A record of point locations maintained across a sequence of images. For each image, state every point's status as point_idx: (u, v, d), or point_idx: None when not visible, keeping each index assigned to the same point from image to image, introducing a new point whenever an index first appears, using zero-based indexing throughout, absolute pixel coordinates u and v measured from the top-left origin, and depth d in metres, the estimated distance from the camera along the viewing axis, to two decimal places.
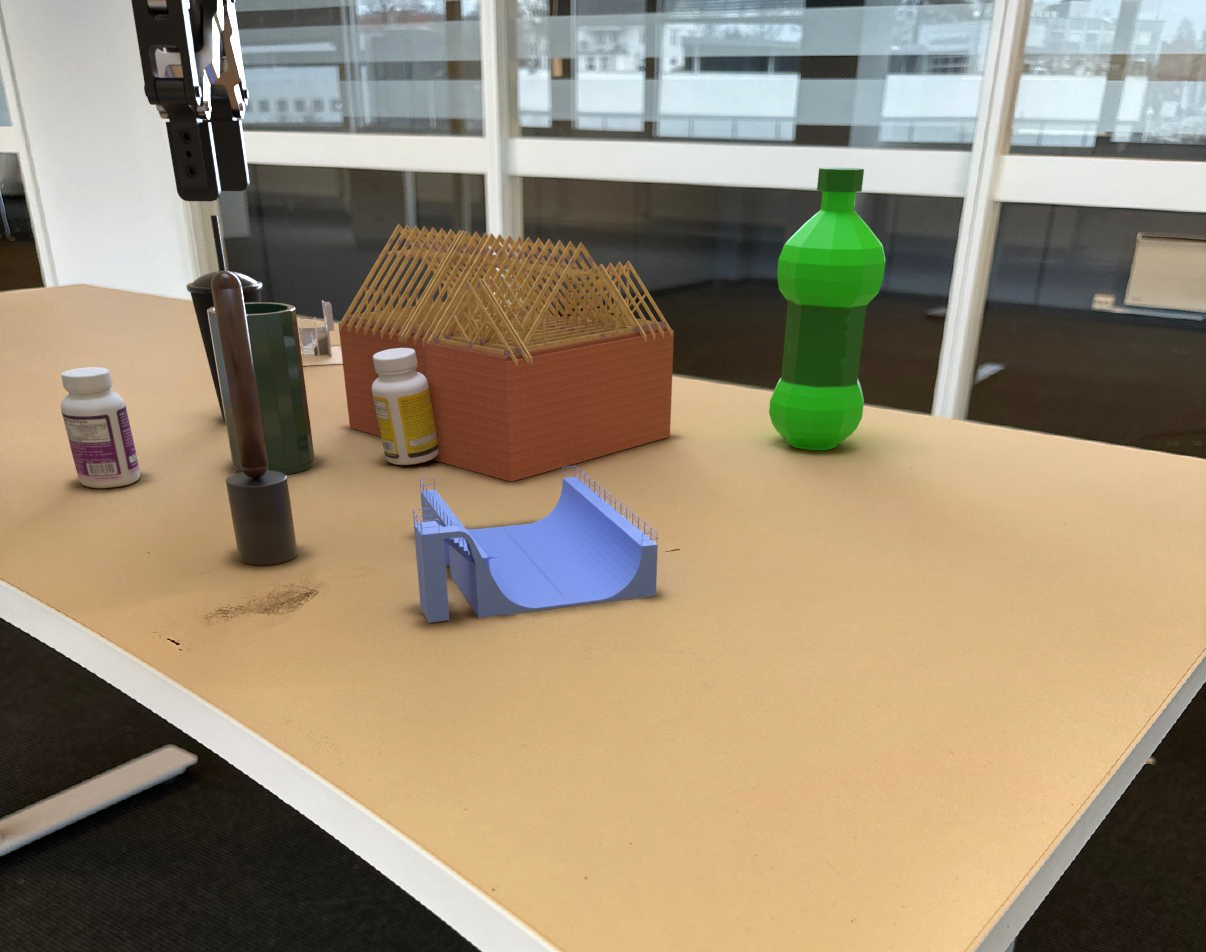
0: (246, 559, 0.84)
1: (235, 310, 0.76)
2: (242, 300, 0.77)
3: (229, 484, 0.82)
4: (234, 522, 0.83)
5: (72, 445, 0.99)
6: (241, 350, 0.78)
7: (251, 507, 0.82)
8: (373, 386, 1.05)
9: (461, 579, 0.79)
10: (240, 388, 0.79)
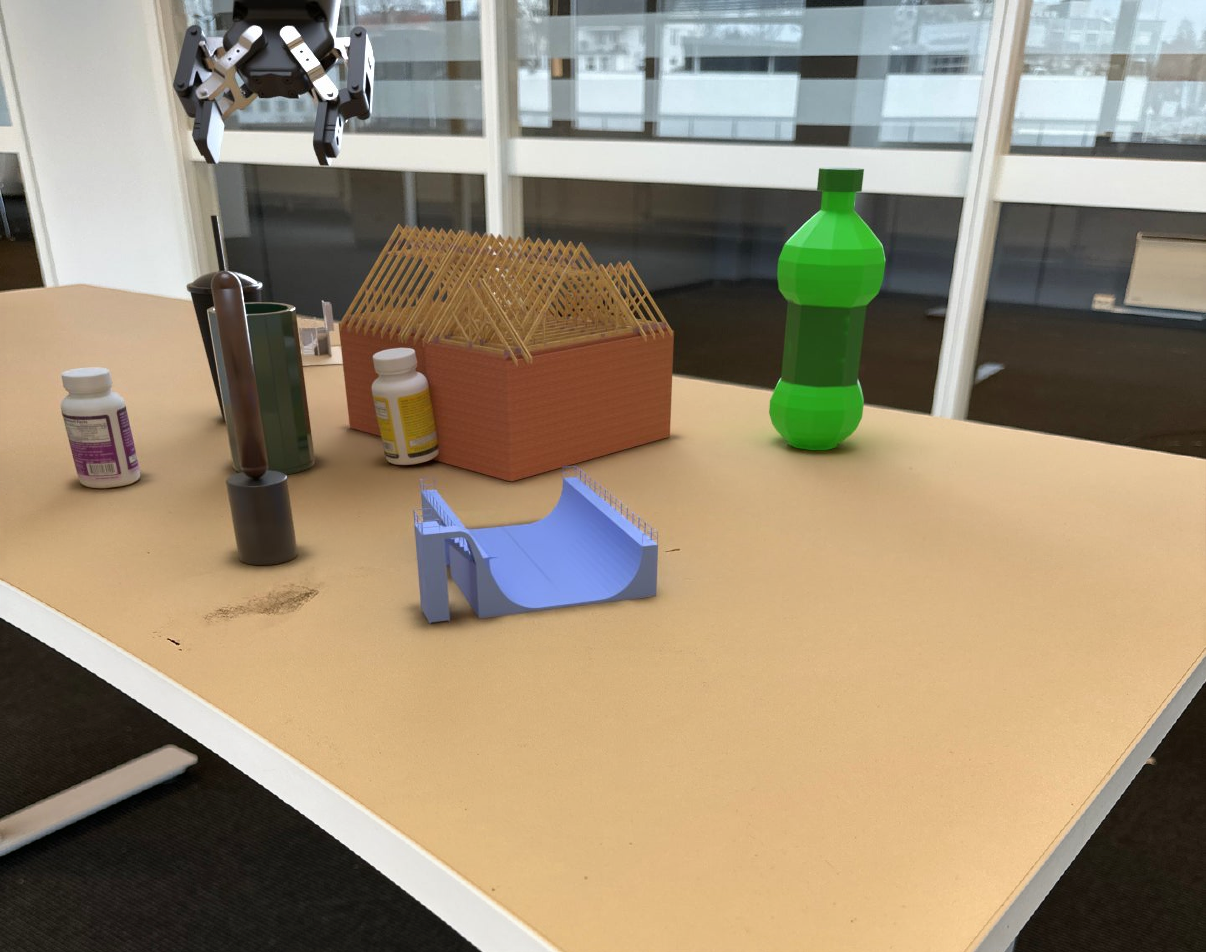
0: (246, 559, 0.84)
1: (235, 310, 0.76)
2: (242, 300, 0.77)
3: (229, 484, 0.82)
4: (234, 522, 0.83)
5: (72, 445, 0.99)
6: (241, 350, 0.78)
7: (251, 507, 0.82)
8: (373, 386, 1.05)
9: (461, 579, 0.79)
10: (240, 388, 0.79)
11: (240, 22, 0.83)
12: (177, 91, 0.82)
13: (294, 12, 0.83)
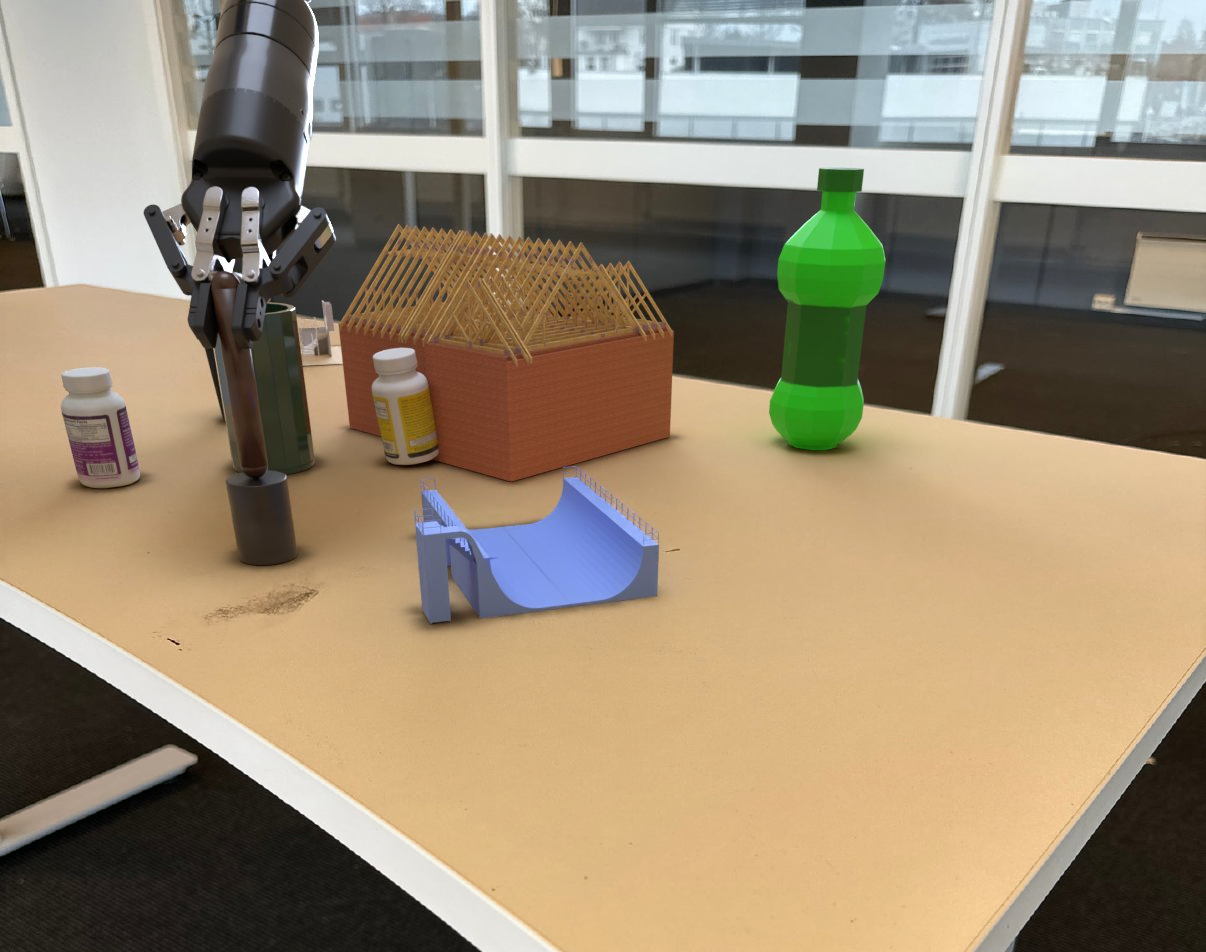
0: (246, 559, 0.84)
1: None
2: None
3: (229, 484, 0.82)
4: (234, 522, 0.83)
5: (72, 445, 0.99)
6: (241, 350, 0.78)
7: (251, 507, 0.82)
8: (373, 386, 1.05)
9: (462, 579, 0.79)
10: (240, 388, 0.79)
11: (200, 180, 0.78)
12: (171, 272, 0.76)
13: (258, 170, 0.77)
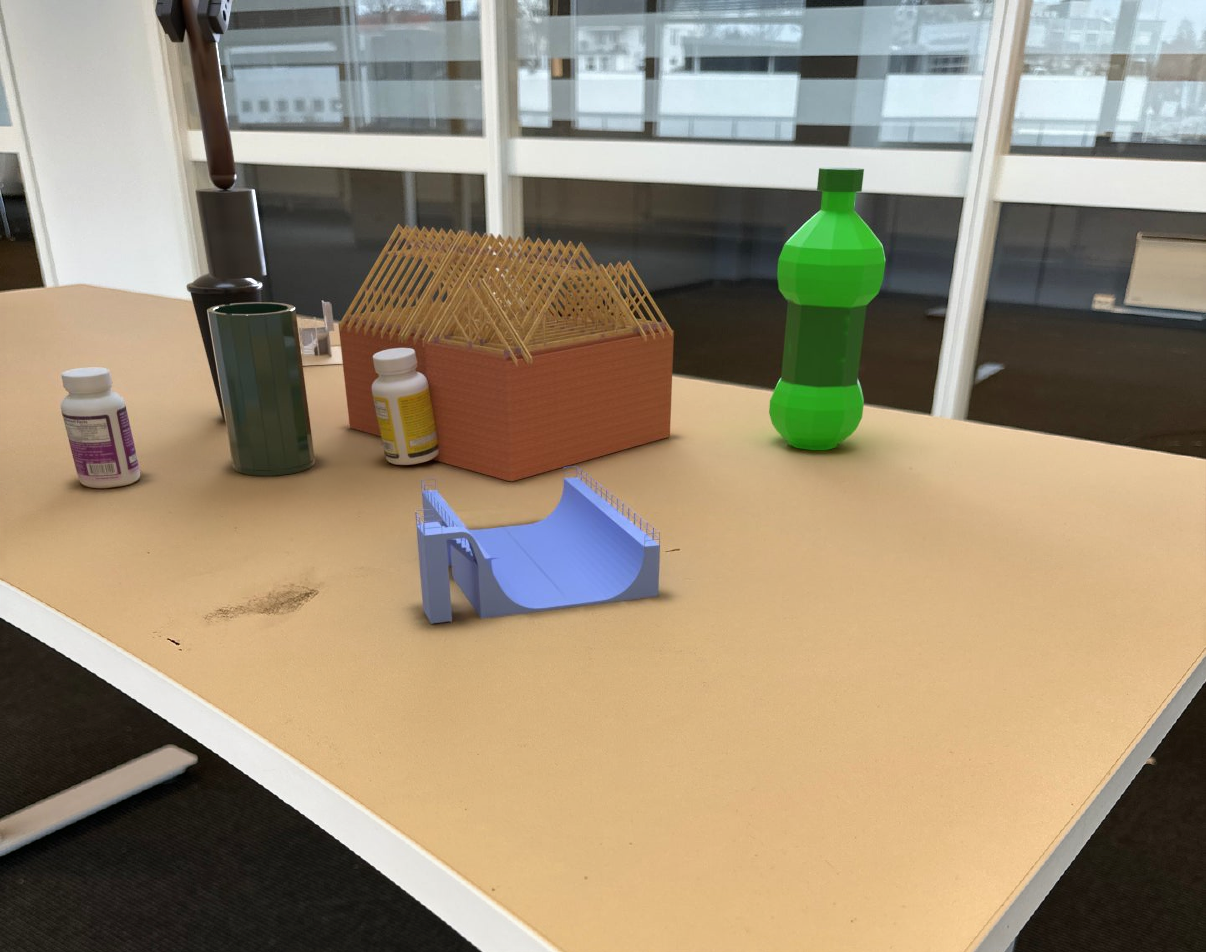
0: (216, 273, 0.87)
1: None
2: None
3: (198, 192, 0.84)
4: (204, 234, 0.86)
5: (72, 445, 0.99)
6: (207, 46, 0.80)
7: (219, 215, 0.85)
8: (373, 386, 1.05)
9: (463, 580, 0.79)
10: (207, 88, 0.81)
11: None
12: None
13: None
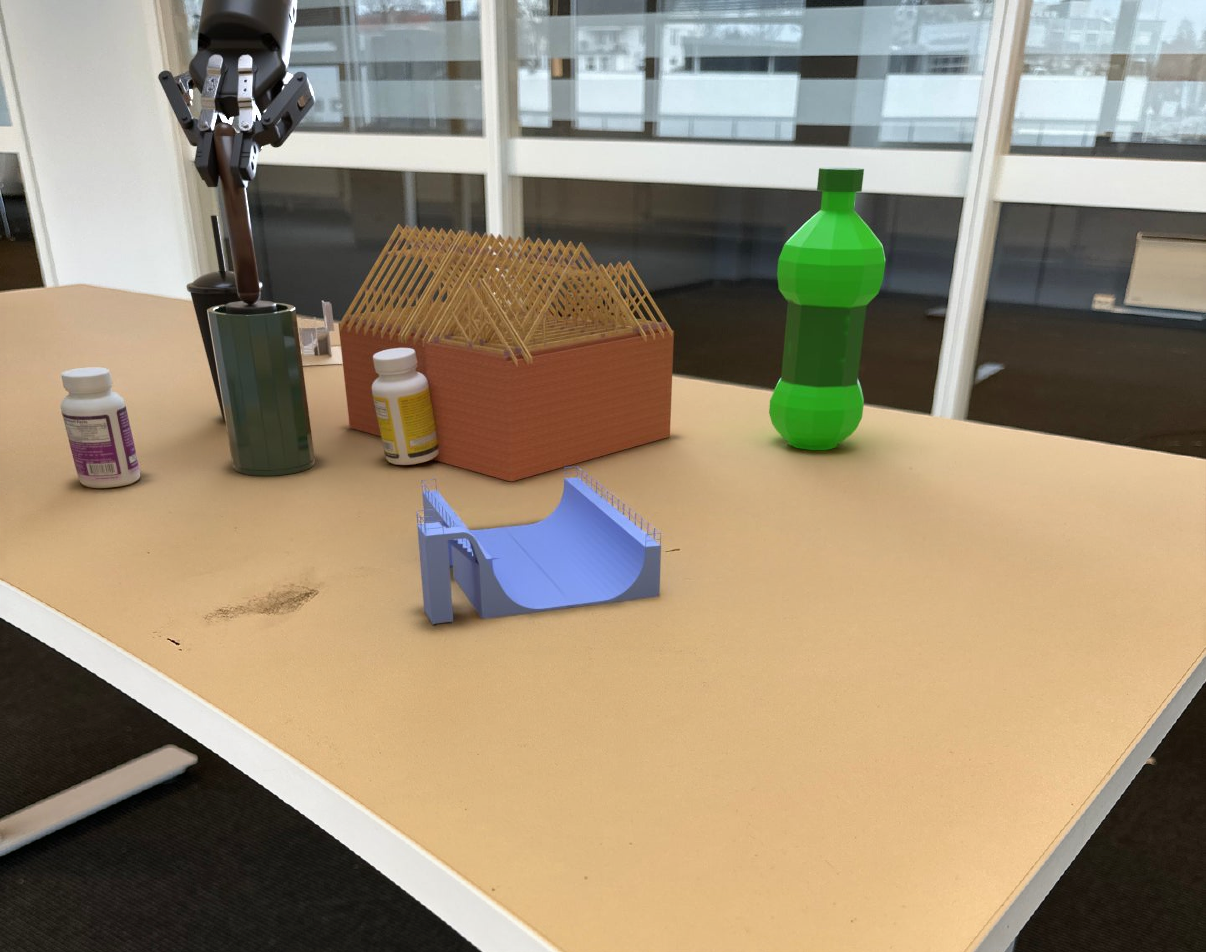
0: None
1: None
2: None
3: (228, 307, 0.99)
4: None
5: (72, 445, 0.99)
6: (238, 190, 0.95)
7: None
8: (373, 386, 1.05)
9: (464, 580, 0.79)
10: (237, 223, 0.96)
11: (204, 51, 0.95)
12: (181, 124, 0.94)
13: (251, 42, 0.95)
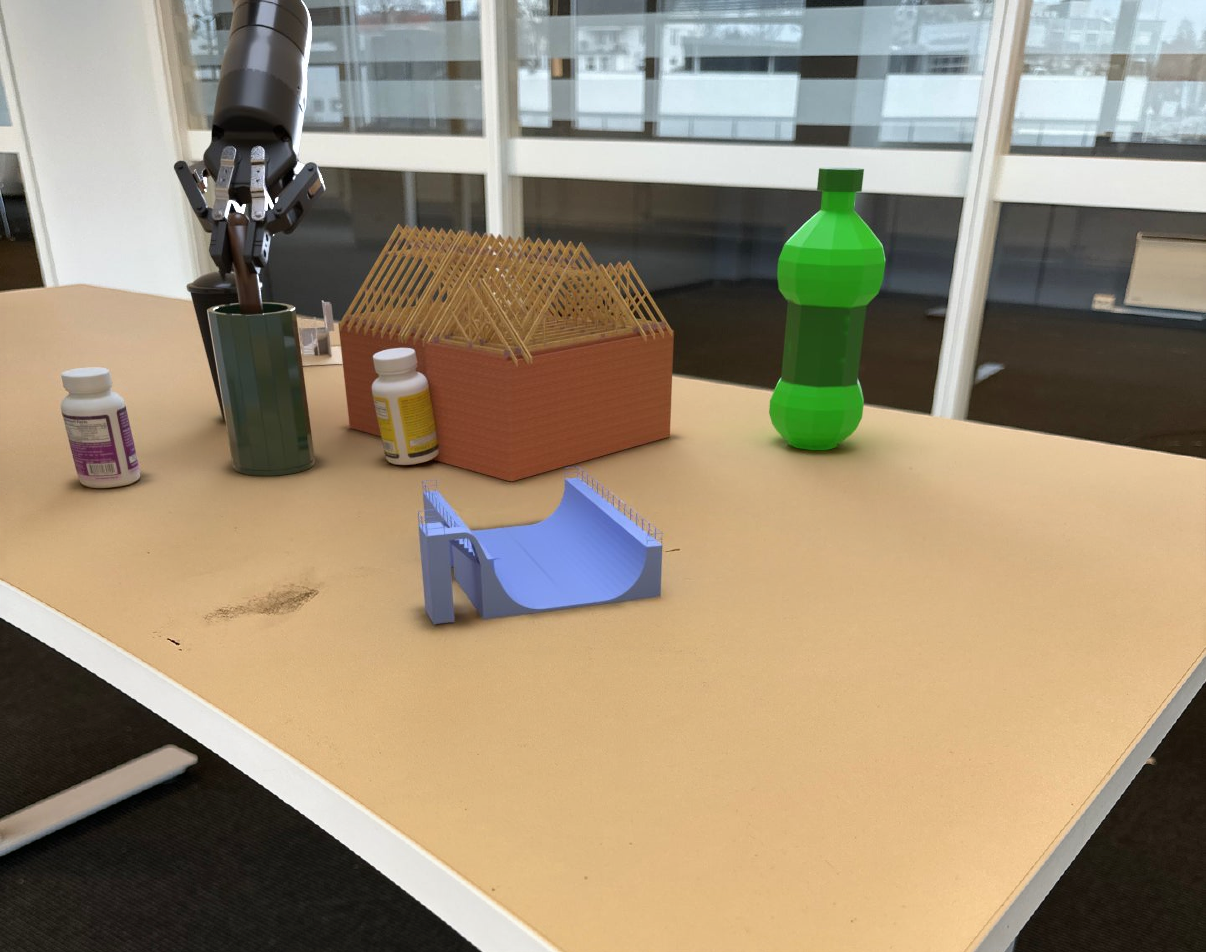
0: None
1: None
2: None
3: None
4: None
5: (72, 445, 0.99)
6: (250, 275, 0.98)
7: None
8: (373, 386, 1.05)
9: (465, 580, 0.79)
10: (250, 306, 1.00)
11: (218, 141, 0.99)
12: (196, 213, 0.97)
13: (263, 133, 0.98)
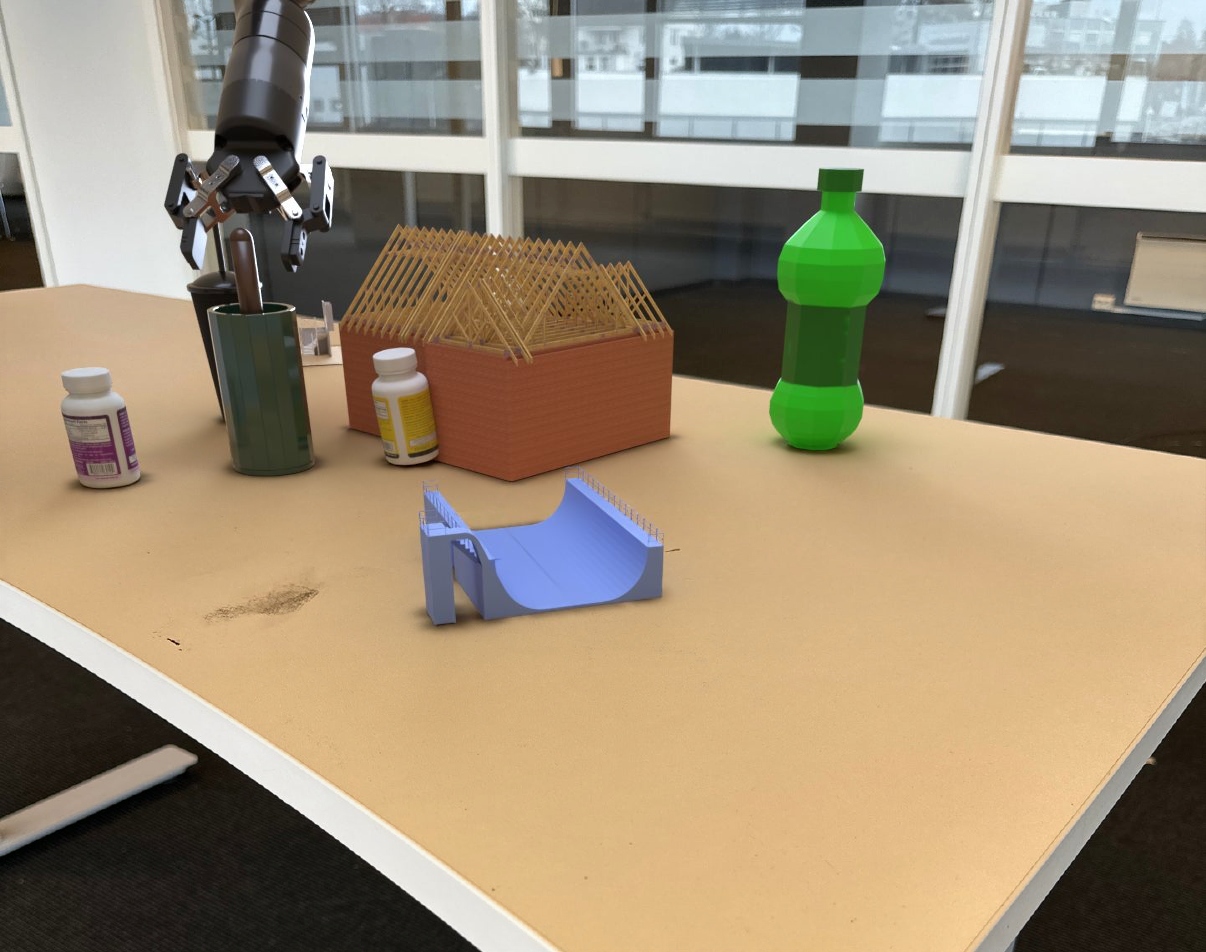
0: None
1: (248, 258, 0.98)
2: (253, 251, 0.98)
3: None
4: None
5: (72, 445, 0.99)
6: (252, 290, 0.99)
7: None
8: (373, 386, 1.05)
9: (466, 581, 0.79)
10: None
11: (220, 151, 0.99)
12: (167, 210, 0.98)
13: (266, 142, 0.99)
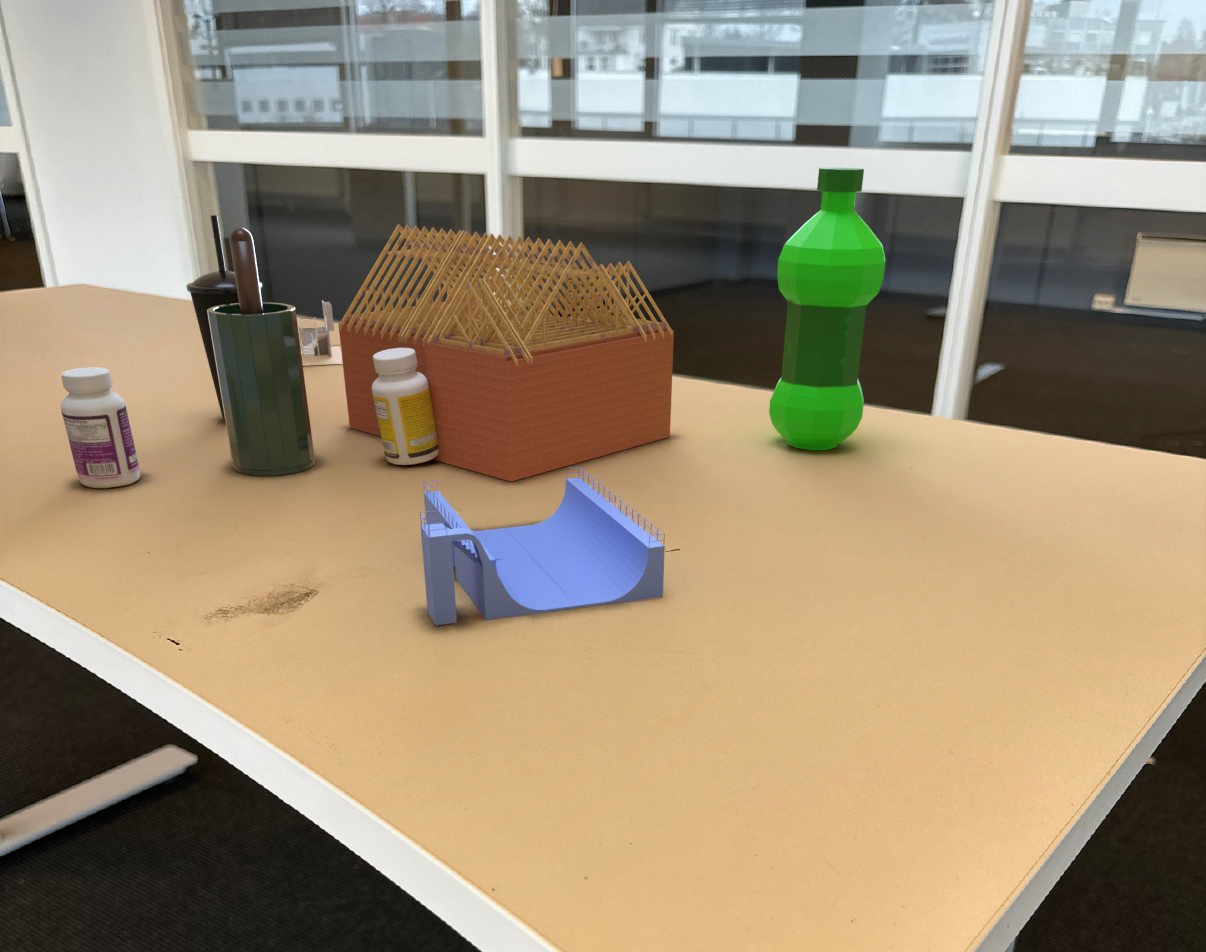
0: None
1: (248, 258, 0.98)
2: (253, 251, 0.98)
3: None
4: None
5: (72, 445, 0.99)
6: (252, 290, 0.99)
7: None
8: (373, 386, 1.05)
9: (467, 581, 0.79)
10: None
11: None
12: None
13: None
